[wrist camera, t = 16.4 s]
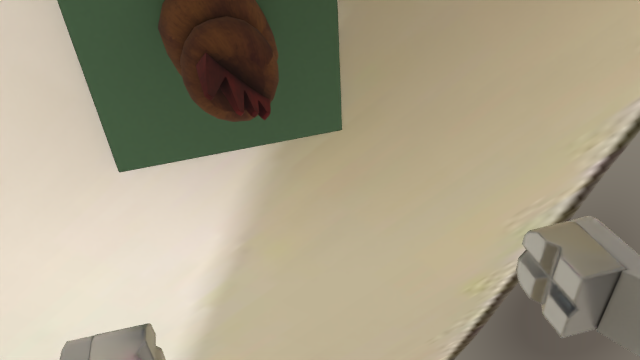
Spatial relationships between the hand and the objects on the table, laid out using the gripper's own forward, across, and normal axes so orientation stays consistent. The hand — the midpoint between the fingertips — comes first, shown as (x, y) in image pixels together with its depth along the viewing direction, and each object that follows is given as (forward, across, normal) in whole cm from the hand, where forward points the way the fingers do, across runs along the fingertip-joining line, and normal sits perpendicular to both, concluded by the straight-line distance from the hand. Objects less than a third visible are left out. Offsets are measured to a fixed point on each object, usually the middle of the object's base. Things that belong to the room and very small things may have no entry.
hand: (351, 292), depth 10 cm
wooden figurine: (+26, +1, +1) cm, 26 cm away
